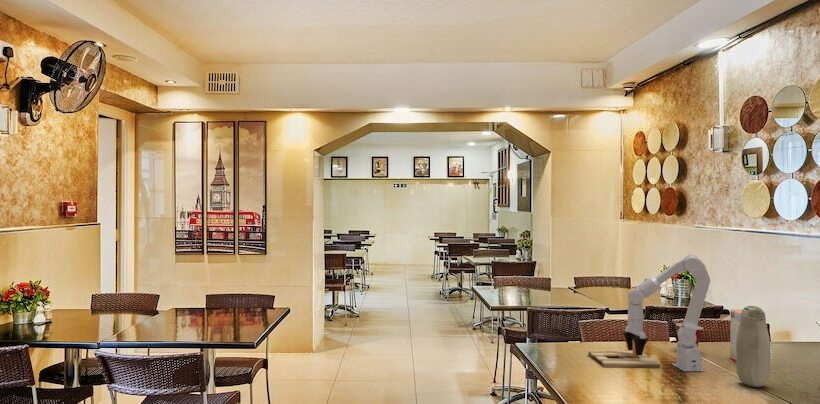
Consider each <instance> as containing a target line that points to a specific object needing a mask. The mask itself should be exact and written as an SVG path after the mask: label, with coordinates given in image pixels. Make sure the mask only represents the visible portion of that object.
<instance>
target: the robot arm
mask: <svg viewBox="0 0 820 404" xmlns="http://www.w3.org/2000/svg"><path fill="white" fill-rule="evenodd" d="M686 271H687V272H688V273H690V274H691V276H692V277H693V278H694V280H695V283H694V288H693V291H692V294H691V298H690V301H689V304H688V307H687V311H686V314H685V317H684V320H683V322H682V326H681V327H680V328H679V329H677V337H678V341H676V358H675V359H676V363H673V362H672V363H671V365H672V366H674V367H675V368H677V369H679V370H681V371H683V372H704V369H702V360H703V359H702V352H700V350H699V349H698V347H697V344H696V343H695V342H696V339H697V338H696V330H697V326H698V323H699V321H700V318H701V317H700V316H701V313H702V310H703V306H704V303H705V301H706V296H707V293H708V290H709V287H710V283H711V278H710V275H709V272H708V270H707V267H706V264H705V263H703V261H702V260H701V259H700V257H698V256H697V255H695V254H688V255H686V256H685V257H684V258H681V259H678V261H676V262H674V263H672V264H671V265H670V266H669V267H668V268H665V270H663V271H662V272H661V273H659V274H658V275H657V276H655V277H651V276H650V277H648V278H647V277H646V278H645V279H643V280H644V281H642V282H641V283H639V285H635V286H634V288H632V289H630V291H629V292H628V294H627V299H628V302H627V303H628V305H627V326H625V329H624V332H622V334H623V336H624V339H625V341H626V347H627V349H628V350H627V351H633V340H634V344H635V350H636V355H642V353H644V349H645V347H646V344H647V343H648V341H649V338H648V337H646V335H647V334H646V333H645V331H644V308H643V302H644V299H647V298H649V297H650V296H651V295H653V294H655V293H656V292H657V291H659V290H660V289H661V285H662V284H663V283H664V282H666V281H667V280H669V279H671V278H672V277H674V276H675V275H677V274H681V273H686Z"/></svg>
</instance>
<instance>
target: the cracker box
mask: <svg viewBox="0 0 820 404" xmlns="http://www.w3.org/2000/svg"><path fill="white" fill-rule="evenodd" d="M742 310H743V309H737V308H736V309H734V308H732V309H730V331H729V332H730V334H729V335H730V337H729V338H730V339H729V351H730V352H729V358H730V359H731V360H733V361H734V362H735V363H736V338H737V333H738V329H739V325H740V318H741V312H742Z"/></svg>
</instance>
